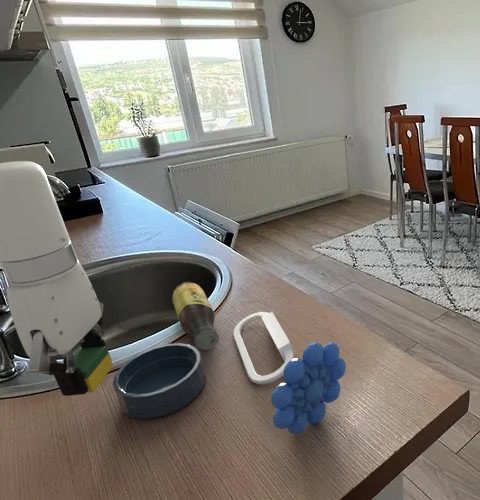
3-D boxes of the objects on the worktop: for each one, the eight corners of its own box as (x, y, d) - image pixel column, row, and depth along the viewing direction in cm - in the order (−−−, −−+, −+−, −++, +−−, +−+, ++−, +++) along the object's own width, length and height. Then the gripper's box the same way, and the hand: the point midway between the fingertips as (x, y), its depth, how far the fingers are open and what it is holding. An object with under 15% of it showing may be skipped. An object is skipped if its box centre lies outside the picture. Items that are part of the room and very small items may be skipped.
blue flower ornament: (329, 384, 63) (321, 317, 58) (359, 408, 58) (352, 336, 53) (261, 427, 56) (246, 354, 51) (288, 458, 51) (274, 380, 46)
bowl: (106, 425, 58) (96, 400, 57) (142, 368, 70) (135, 346, 68) (192, 417, 59) (185, 392, 57) (215, 362, 70) (209, 340, 68)
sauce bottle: (208, 292, 89) (235, 339, 73) (185, 312, 88) (208, 364, 72) (187, 273, 85) (210, 318, 69) (162, 294, 84) (181, 345, 68)
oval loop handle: (234, 334, 80) (225, 319, 78) (272, 313, 82) (264, 299, 80) (259, 400, 63) (248, 383, 61) (306, 372, 65) (297, 355, 63)
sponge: (64, 394, 56) (55, 374, 55) (86, 367, 62) (78, 348, 60) (93, 392, 57) (85, 371, 55) (113, 365, 62) (106, 346, 60)
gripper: (53, 240, 60) (94, 344, 67) (-47, 300, 44) (20, 427, 51) (105, 235, 60) (140, 339, 67) (24, 293, 44) (81, 421, 51)
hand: (88, 376), depth 59 cm, fingers closed on sponge, 5 cm apart
